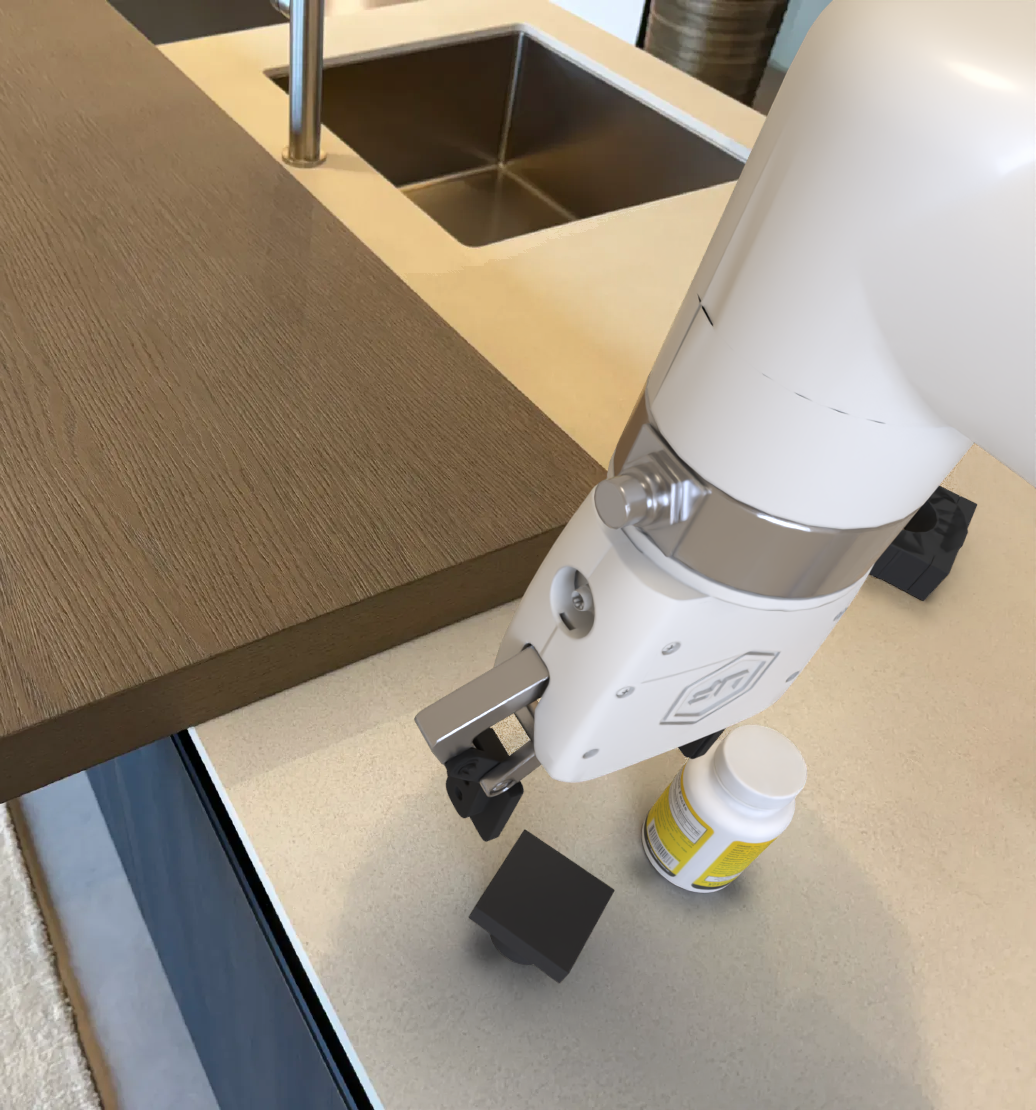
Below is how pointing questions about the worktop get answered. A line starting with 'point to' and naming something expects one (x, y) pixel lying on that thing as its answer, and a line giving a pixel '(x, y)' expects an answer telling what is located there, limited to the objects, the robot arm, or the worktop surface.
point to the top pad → (541, 907)
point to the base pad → (927, 544)
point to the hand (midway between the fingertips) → (575, 765)
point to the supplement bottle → (724, 808)
